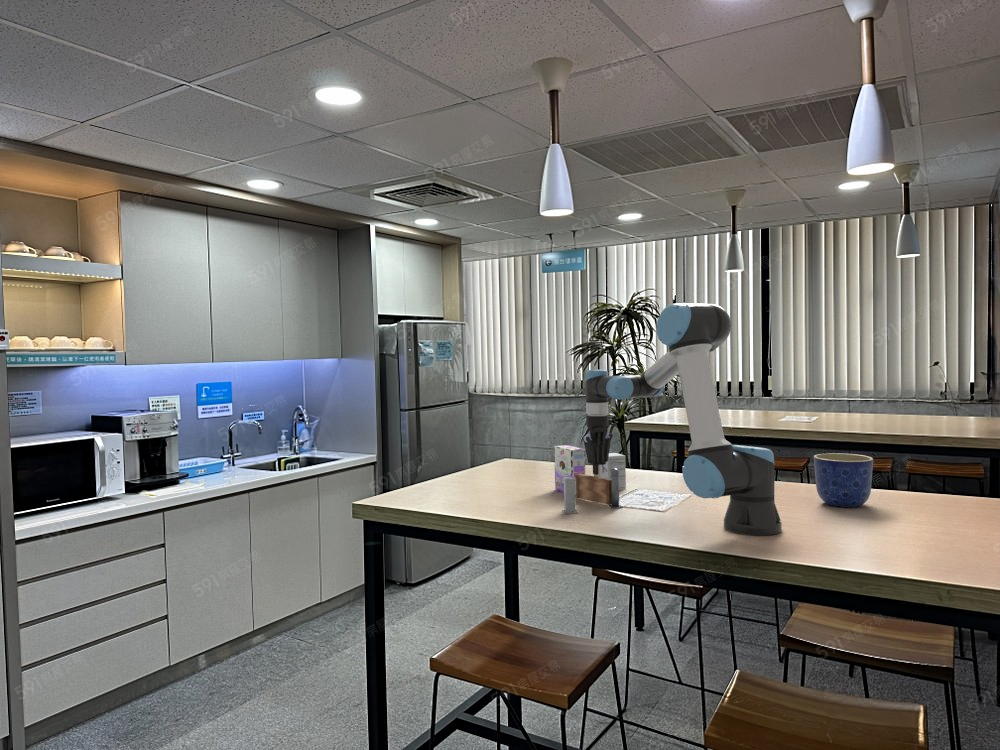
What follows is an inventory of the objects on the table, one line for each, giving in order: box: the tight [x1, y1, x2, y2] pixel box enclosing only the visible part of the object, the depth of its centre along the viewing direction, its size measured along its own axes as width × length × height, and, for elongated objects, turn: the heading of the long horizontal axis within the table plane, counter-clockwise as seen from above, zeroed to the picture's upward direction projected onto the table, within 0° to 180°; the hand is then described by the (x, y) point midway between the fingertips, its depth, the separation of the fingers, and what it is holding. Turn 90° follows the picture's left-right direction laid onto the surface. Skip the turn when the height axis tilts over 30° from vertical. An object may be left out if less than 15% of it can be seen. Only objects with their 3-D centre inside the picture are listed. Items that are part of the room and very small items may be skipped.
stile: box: [561, 477, 579, 515], centre depth 213 cm, size 4×4×11 cm
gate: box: [575, 474, 612, 505], centre depth 227 cm, size 15×2×8 cm, turn 39°
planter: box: [813, 452, 874, 508], centre depth 216 cm, size 17×17×15 cm
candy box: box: [553, 444, 586, 497], centre depth 245 cm, size 14×6×16 cm, turn 22°
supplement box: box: [603, 452, 627, 491], centre depth 250 cm, size 7×7×13 cm
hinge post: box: [608, 468, 624, 510], centre depth 219 cm, size 4×4×13 cm
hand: (598, 483), depth 232 cm, fingers closed
